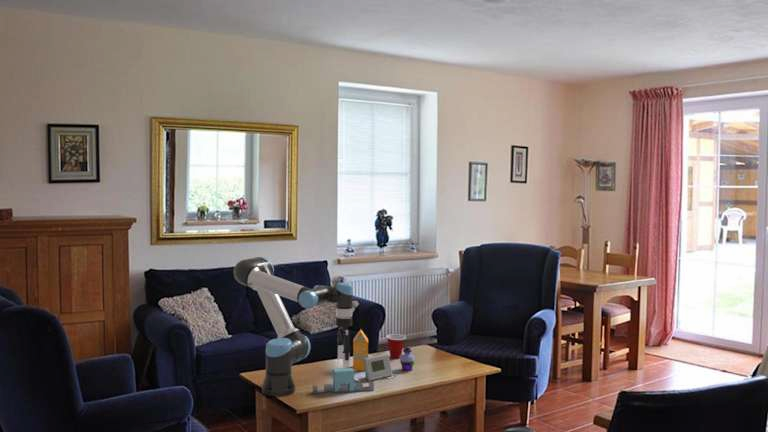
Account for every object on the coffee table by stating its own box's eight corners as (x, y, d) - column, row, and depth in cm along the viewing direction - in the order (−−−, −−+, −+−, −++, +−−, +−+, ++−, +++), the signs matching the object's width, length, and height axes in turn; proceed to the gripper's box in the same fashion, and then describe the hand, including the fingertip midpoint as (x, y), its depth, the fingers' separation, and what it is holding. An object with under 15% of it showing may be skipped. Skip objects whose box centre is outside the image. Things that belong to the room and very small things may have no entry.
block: (334, 391, 307) (334, 371, 307) (332, 388, 311) (333, 369, 311) (354, 390, 309) (354, 370, 309) (351, 387, 314) (352, 368, 313)
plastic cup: (393, 361, 365) (393, 339, 365) (382, 356, 374) (382, 335, 374) (409, 358, 371) (409, 336, 371) (398, 354, 380) (398, 333, 380)
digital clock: (367, 382, 326) (368, 360, 325) (358, 377, 333) (358, 356, 333) (396, 377, 334) (396, 356, 334) (386, 373, 342) (387, 352, 341)
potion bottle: (412, 372, 343) (412, 349, 342) (396, 370, 346) (396, 347, 345) (417, 368, 351) (417, 345, 350) (402, 366, 354) (402, 344, 353)
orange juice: (368, 366, 354) (368, 328, 353) (367, 371, 345) (368, 332, 344) (353, 366, 354) (353, 328, 353) (352, 370, 345) (353, 332, 344)
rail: (313, 394, 306) (313, 386, 305) (312, 392, 308) (312, 384, 308) (373, 390, 313) (373, 382, 312) (372, 388, 315) (372, 381, 315)
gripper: (358, 322, 298) (357, 370, 299) (346, 311, 322) (346, 355, 323) (341, 322, 296) (340, 370, 297) (331, 312, 320) (330, 356, 321)
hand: (343, 363), depth 310 cm, fingers open, 13 cm apart
